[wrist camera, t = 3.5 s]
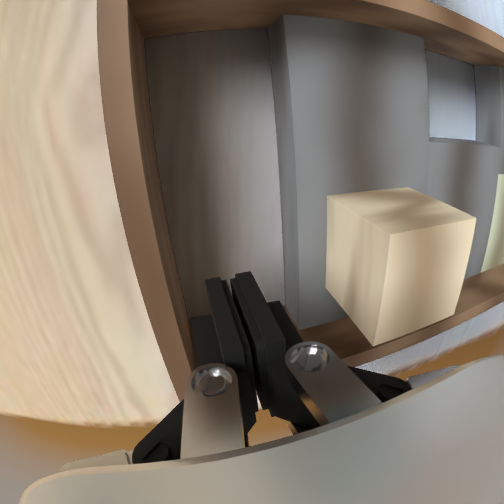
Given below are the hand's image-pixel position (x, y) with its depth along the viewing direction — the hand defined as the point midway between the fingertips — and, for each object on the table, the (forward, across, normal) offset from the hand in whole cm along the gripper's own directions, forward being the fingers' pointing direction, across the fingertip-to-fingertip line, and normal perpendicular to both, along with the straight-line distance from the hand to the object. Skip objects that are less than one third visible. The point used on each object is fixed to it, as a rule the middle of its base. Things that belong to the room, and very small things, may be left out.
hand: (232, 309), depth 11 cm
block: (+3, -8, 0) cm, 9 cm away
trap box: (+6, -12, -3) cm, 14 cm away
